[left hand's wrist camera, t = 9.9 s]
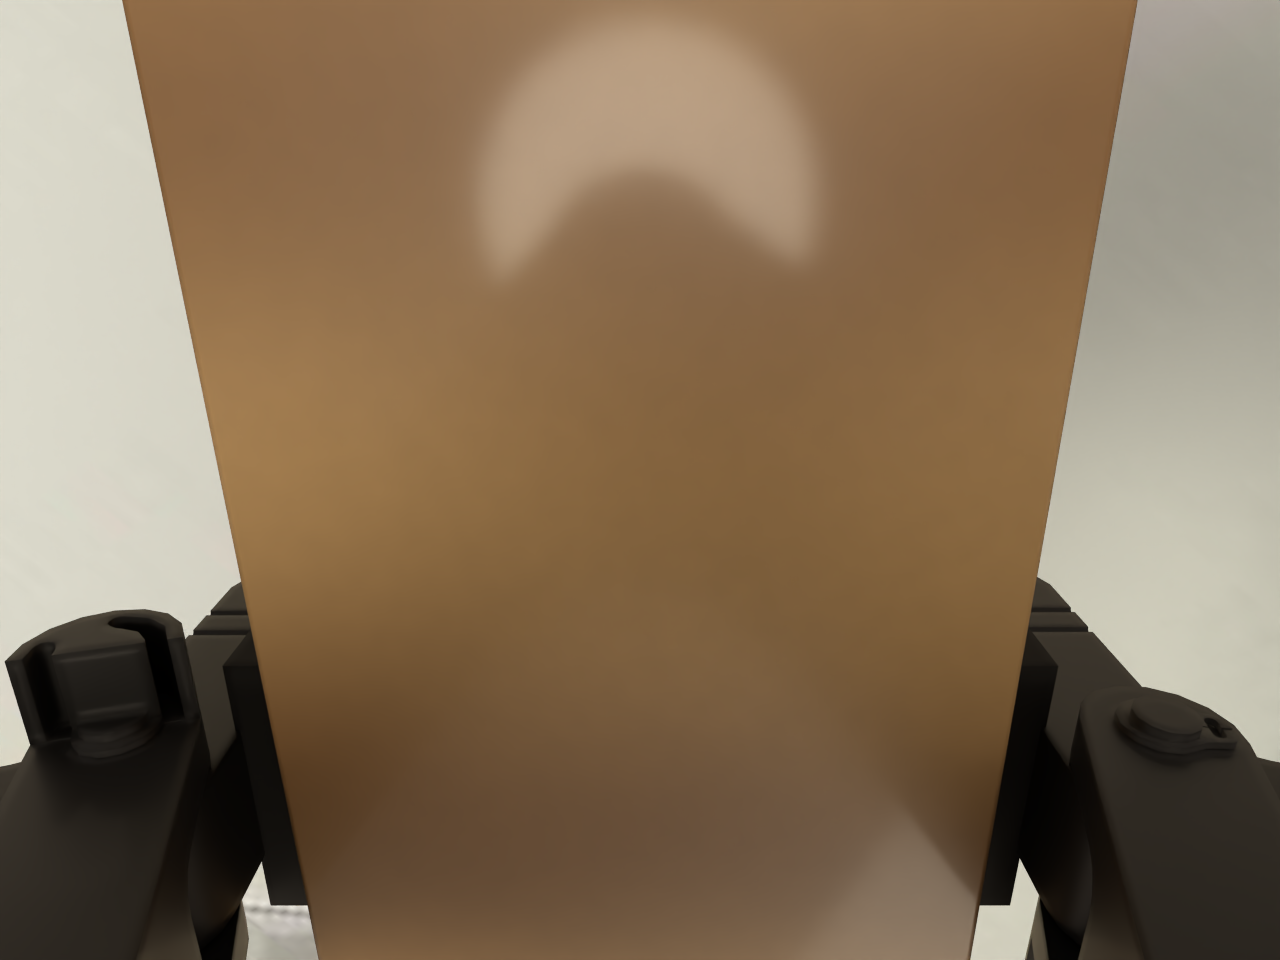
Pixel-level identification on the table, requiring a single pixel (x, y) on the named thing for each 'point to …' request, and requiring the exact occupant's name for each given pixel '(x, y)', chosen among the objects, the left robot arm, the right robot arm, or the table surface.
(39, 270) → the table surface
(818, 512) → the post
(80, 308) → the table surface
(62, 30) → the table surface
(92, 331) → the table surface
